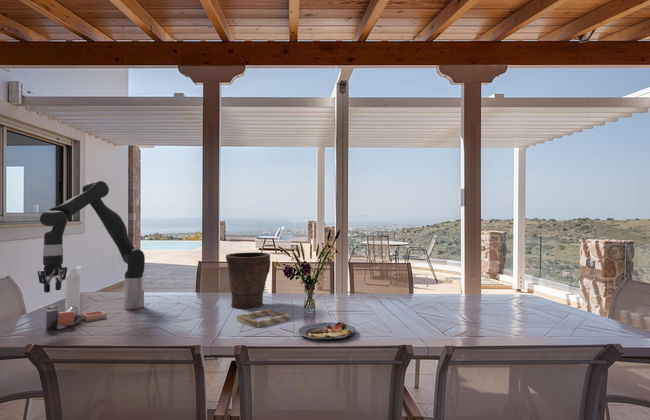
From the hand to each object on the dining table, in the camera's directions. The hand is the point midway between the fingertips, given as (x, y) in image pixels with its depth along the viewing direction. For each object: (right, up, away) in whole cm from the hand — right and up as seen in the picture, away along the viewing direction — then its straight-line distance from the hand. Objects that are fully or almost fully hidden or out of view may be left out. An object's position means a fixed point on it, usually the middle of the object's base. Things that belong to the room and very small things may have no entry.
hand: (52, 291), depth 178 cm
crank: (+3, -16, +7) cm, 18 cm away
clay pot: (+81, -19, +50) cm, 97 cm away
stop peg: (0, -17, 0) cm, 17 cm away
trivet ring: (+94, -18, +16) cm, 97 cm away
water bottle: (-6, -18, +25) cm, 32 cm away
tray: (+8, -18, +19) cm, 27 cm away
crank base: (+2, -18, +10) cm, 21 cm away
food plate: (+126, -18, -7) cm, 128 cm away
